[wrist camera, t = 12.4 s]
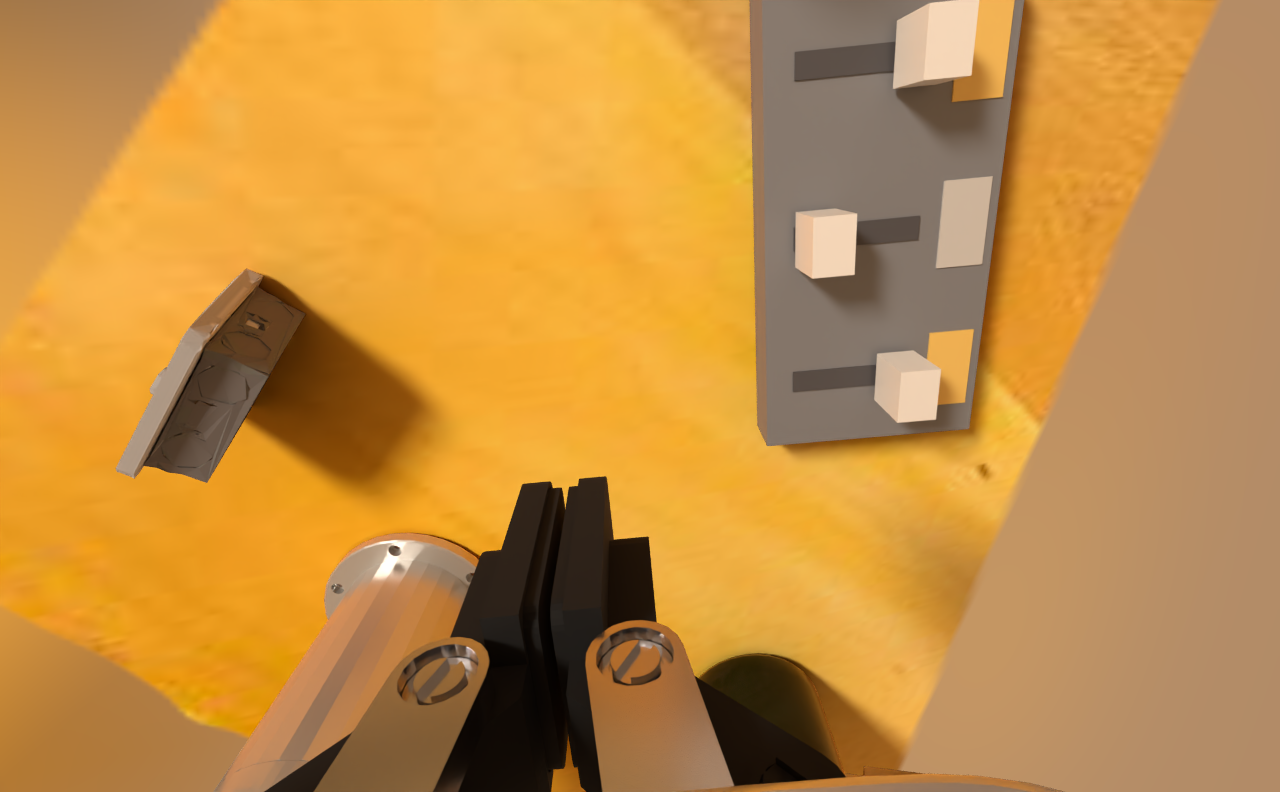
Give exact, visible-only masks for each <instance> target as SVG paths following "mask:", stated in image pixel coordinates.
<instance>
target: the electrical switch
mask: <svg viewBox="0 0 1280 792" xmlns="http://www.w3.org/2000/svg"><path fill="white" fill-rule="evenodd" d="M262 279H263V275H261V274H258V273H256V272H253V271H251V270H249V269H245V270H244V271H243V272H242V273H241V274H240V275H239V276H238V277H236V278H235V279H234V280H233V281H232V282H231V283H230V284H229V285H228V287H227V288H226V289H225V290H224V291H223V292H222V293H221V294H220V295H219V296H218V297H217V298H216V299H215V300H214V301H213V302H212V303H211V304H210V305H209V306H208V307H207V308H206V310H205V311H204V312H203V313H202V314H201V315H200V316H199V317H198V319H197V320H196V321H195V322H194V323H193V324H192V325H191V326H190V328H189V329H188V330H187V332H186V333H185V335H184V336H183V338H182V339H181V341H180V343H179V345H178V347H177V349H176V351H175V353H174V355H173V357H172V359H171V361H170V363H169V365H168V367H166V368H165V369H163V370H162V371H161V372H160V373H159V374H158V376H157V378H156V379H155V381H154V383H153V384H152V386H151V388H150V393H151V394H153V396H152V398H151V400H150V402H149V404H148V406H147V408H146V410H145V412H144V414H143V416H142V418H141V420H140V422H139V424H138V426H137V428H136V430H135V432H134V434H133V436H132V438H131V440H130V442H129V444H128V446H127V448H126V450H125V452H124V454H123V455H122V457H121V459H120V461H119V463H118V465H117V467H116V471H117V472H120V473H122V474H125V475H128V476H131V477H133V478H134V479H135V477H136V476H137V475H138V474H139V472H140V471H141V470H142V468H143V466H149V467H156V468H159V469H161V470H164V471H166V472H169V473H178V474H183V475H186V476H189V477H192V478H195V479H198V480H200V481H203V482H206V483H207V482H208V480H209V479H210V477H211V475H212V473H213V472H214V470H215V468H216V467H217V465H218V463H219V462H220V460H221V458H222V457H223V455H224V453H225V452H226V450H227V448H228V447H229V445H230V443H231V442H232V440H233V438H234V437H235V435H236V433H237V431H238V430H239V428H240V426H241V425H242V423H243V421H244V420H245V418H246V416H247V415H248V413H249V411H250V410H251V408H252V407H251V405H253V404H254V402H255V400H256V398H257V397H258V395H259V393H260V391H261V390H262V388H263V386H264V384H265V383H266V381H267V379H268V377H269V376H270V374H271V372H272V370H273V369H274V367H275V365H276V363H277V362H278V360H279V358H280V356H281V355H282V353H283V351H284V350H285V348H286V346H287V344H288V343H289V341H290V339H291V338H292V336H293V334H294V333H295V331H296V329H297V328H298V326H299V324H300V323H301V321H302V319H303V318H304V316H305V313H303V312H301V311H299V310H297V309H295V308H293V307H291V306H289V305H287V304H285V303H284V302H282V301H281V300H280V299H278V298H277V297H275V296H273V295H271V294H269V293H267V292H265V291H263V290H262V289H260V288H259V287H258V286H259V284H260V283H261V281H262Z"/></svg>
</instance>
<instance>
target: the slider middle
mask: <svg viewBox="0 0 1280 792" xmlns="http://www.w3.org/2000/svg"><path fill="white" fill-rule="evenodd" d="M856 231H857V213H853V212H848V211H844V210H840V209H835V208H834V209H824V210H813V211H803V212H796V231H795V268H797V269H798V270H800V271H801V272H803V273H804V274H806V275H808V276H809V277H811V278H812V279H814V278H825V277H836V276H847V275H855V254H856Z"/></svg>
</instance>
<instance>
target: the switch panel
mask: <svg viewBox="0 0 1280 792" xmlns="http://www.w3.org/2000/svg"><path fill="white" fill-rule="evenodd" d="M943 1H953V0H750V43H751V98H752V152H753V207H754V262H755V316H756V371H757V425H758V427H759V430H760V432H761V434H762V436H763V438H764V440H765V442H766V445H767V446H775V445H786V444H798V443H810V442H822V441H833V440H845V439H857V438H868V437H880V436H892V435H904V434H915V433H927V432H939V431H950V430H962V429H969V425H970V417H971V409H972V402H973V394H974V386H975V378H976V371H977V363H978V355H979V347H980V340H981V332H982V324H983V316H984V309H985V301H986V293H987V285H988V278H989V270H990V262H991V254H992V247H993V239H994V231H995V223H996V216H997V208H998V200H999V192H1000V185H1001V177H1002V169H1003V161H1004V154H1005V146H1006V138H1007V130H1008V123H1009V115H1010V107H1011V99H1012V92H1013V84H1014V76H1015V68H1016V61H1017V53H1018V45H1019V37H1020V29H1021V22H1022V14H1023V6H1024V0H979V8H978V17H977V27H976V36H975V46H974V55H973V65H972V74H971V76H968V77H964V78H960V79H956V80H952V81H948V82H944V83H940V84H936V85H928V86H918V87H908V88H898V89H893V78H894V62H895V46H896V30H897V20H899V19H901V18H903V17H905V16H906V15H908V14H910V13H912V12H914V11H916V10H918V9H919V8H921V7H923V6H925V5H927V4H929V3H934V2H943ZM834 208H835V209H840V210H844V211H848V212H853V213H857V231H856V254H855V275H847V276H836V277H825V278H814V279H812V278H811V277H809V276H808V275H806V274H804V273H803V272H801V271H800V270H798V269H797V268H795V231H796V212H803V211H813V210H824V209H834ZM911 350H913V351H915V352H916V353H918V354H919V355H921V356H922V357H924V358H925V359H927V360H928V361H930V362H931V363H933V364H934V365H936V366H937V367H939V368H940V369H941V375H940V385H939V394H938V404H937V413H936V420H924V421H913V422H901V423H897V422H896V421H895V420H894V419H893V418H892V417H891V416H890V415H889V414H888V413H887V412H886V411H885V410H884V409H883V408H882V407H881V406H880V405H879V404H878V403H877V402H876V401H875V400H874V395H875V379H876V363H877V354H878V353H889V352H900V351H911Z"/></svg>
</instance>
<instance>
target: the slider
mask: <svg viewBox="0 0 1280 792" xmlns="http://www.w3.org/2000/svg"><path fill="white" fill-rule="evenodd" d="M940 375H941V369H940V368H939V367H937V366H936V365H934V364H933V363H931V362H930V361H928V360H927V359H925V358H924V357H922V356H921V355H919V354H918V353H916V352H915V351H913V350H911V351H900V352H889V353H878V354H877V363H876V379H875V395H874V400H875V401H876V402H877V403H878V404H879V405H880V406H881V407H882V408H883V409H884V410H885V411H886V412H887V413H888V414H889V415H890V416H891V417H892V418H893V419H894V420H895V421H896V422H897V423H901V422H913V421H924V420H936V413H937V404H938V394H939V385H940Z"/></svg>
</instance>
